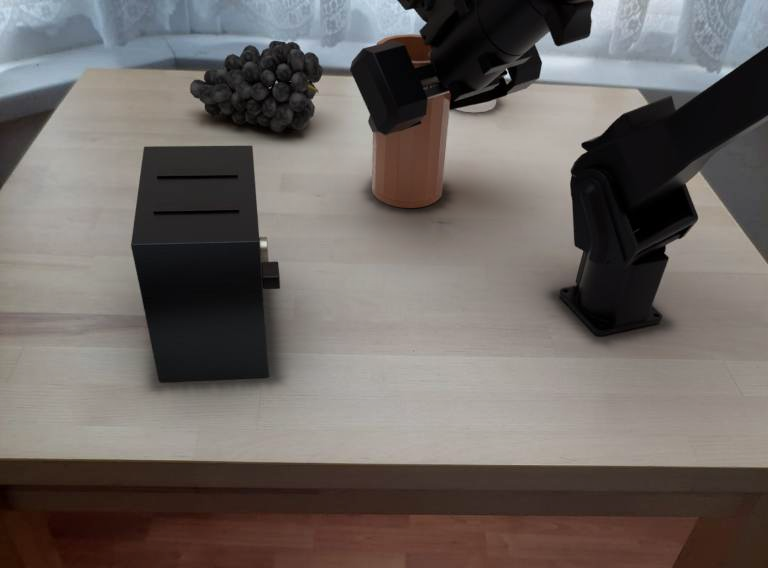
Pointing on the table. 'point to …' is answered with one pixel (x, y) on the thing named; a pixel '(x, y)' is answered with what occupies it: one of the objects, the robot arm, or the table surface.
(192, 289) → the toaster
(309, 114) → the fruit
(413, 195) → the brown cylindrical vase
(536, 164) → the table surface
